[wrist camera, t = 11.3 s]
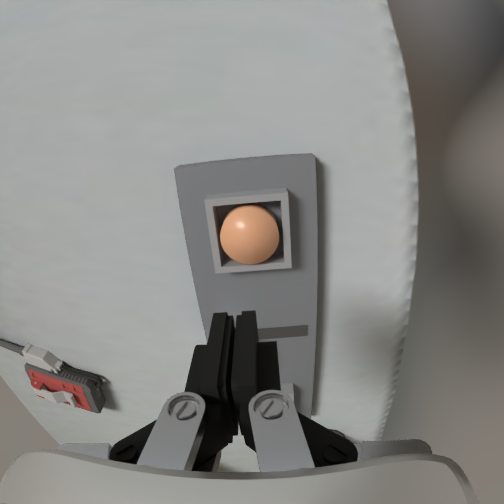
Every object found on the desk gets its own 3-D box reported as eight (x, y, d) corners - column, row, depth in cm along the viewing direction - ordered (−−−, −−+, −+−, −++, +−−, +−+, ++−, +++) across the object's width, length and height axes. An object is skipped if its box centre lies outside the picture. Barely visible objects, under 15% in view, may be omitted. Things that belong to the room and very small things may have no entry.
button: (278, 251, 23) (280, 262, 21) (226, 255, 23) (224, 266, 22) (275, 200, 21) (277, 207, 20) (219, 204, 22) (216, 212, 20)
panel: (309, 411, 34) (311, 429, 31) (229, 415, 34) (228, 434, 32) (311, 153, 22) (319, 158, 19) (179, 165, 22) (168, 172, 19)
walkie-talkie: (101, 361, 32) (-6, 328, 32) (88, 386, 28) (-21, 345, 27) (115, 403, 36) (14, 369, 35) (105, 427, 32) (1, 387, 31)
